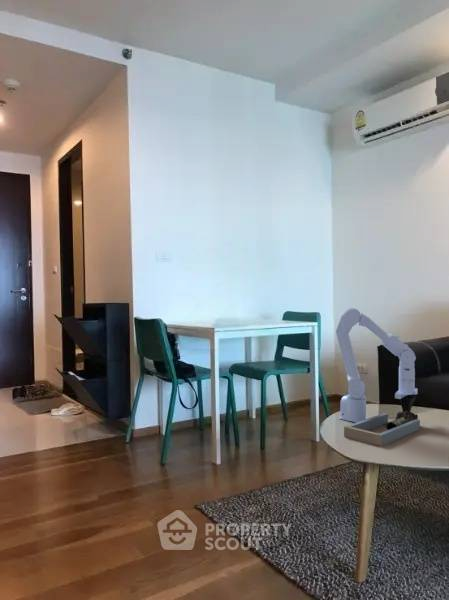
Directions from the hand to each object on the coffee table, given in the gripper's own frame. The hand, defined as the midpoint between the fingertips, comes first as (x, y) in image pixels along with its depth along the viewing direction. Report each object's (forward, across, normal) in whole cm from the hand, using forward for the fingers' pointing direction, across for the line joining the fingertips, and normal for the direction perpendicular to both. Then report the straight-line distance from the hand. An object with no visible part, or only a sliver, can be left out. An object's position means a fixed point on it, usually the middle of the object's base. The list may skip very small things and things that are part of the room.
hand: (406, 414), depth 181 cm
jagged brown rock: (+4, -8, -2) cm, 9 cm away
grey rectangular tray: (+3, -17, 0) cm, 18 cm away
